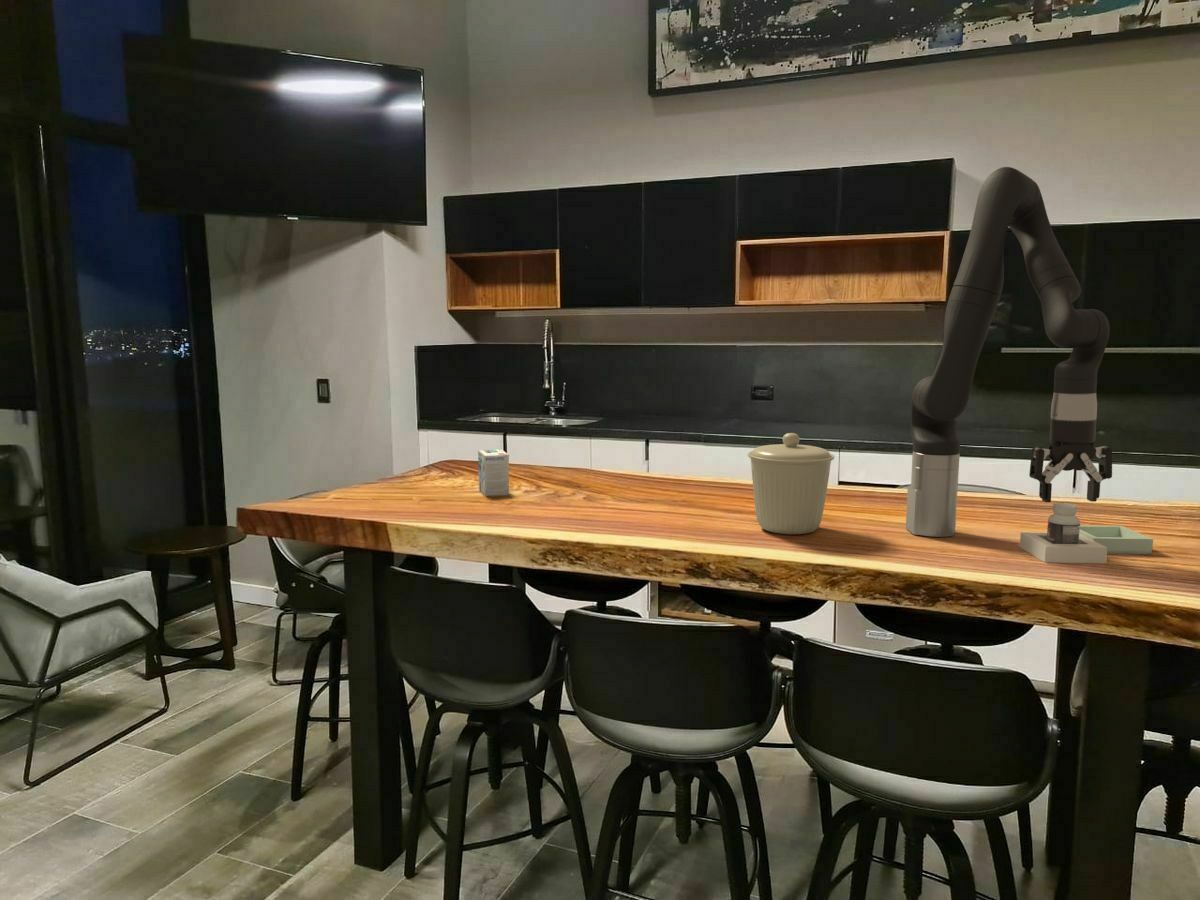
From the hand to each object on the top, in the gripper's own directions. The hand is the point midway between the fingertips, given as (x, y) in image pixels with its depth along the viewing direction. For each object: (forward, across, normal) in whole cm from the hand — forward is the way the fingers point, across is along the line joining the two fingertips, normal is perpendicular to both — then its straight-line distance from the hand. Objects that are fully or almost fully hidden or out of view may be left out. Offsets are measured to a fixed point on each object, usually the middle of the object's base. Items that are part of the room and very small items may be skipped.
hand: (1069, 501), depth 162 cm
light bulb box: (+8, -120, +61) cm, 135 cm away
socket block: (+10, -1, -1) cm, 10 cm away
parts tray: (+11, +11, +6) cm, 16 cm away
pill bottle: (+11, -1, -1) cm, 11 cm away
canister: (+9, -50, +19) cm, 54 cm away
